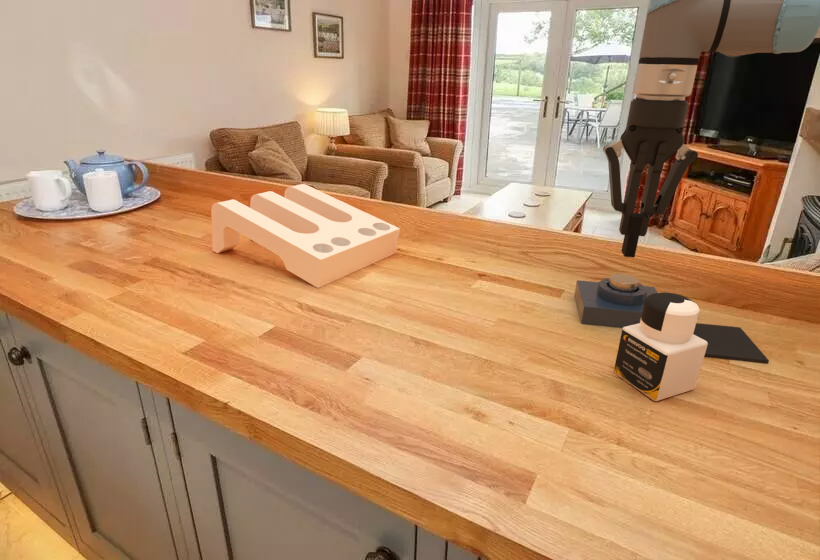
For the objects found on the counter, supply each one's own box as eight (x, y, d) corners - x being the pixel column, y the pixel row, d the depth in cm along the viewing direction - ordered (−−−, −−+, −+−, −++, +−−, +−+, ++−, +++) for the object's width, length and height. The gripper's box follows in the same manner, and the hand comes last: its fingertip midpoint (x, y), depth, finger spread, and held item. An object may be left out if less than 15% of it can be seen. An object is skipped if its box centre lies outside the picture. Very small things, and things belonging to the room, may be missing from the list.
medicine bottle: (612, 372, 66) (628, 292, 62) (650, 361, 69) (669, 283, 64) (655, 403, 60) (677, 316, 56) (695, 389, 63) (720, 306, 58)
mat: (739, 330, 78) (740, 327, 78) (768, 364, 69) (769, 360, 69) (671, 323, 80) (672, 320, 79) (691, 355, 71) (692, 352, 70)
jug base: (650, 303, 87) (656, 277, 85) (667, 333, 77) (674, 304, 75) (574, 296, 89) (578, 270, 87) (581, 324, 79) (585, 296, 77)
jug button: (633, 284, 83) (635, 274, 82) (639, 295, 79) (641, 285, 78) (606, 282, 83) (608, 272, 83) (610, 292, 79) (612, 282, 79)
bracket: (320, 259, 88) (210, 199, 102) (315, 314, 94) (212, 250, 108) (400, 228, 106) (297, 180, 120) (391, 276, 112) (294, 225, 126)
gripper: (616, 97, 67) (588, 258, 77) (720, 100, 65) (678, 266, 74) (607, 95, 74) (582, 243, 83) (701, 98, 72) (664, 250, 81)
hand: (627, 254), depth 79 cm, fingers closed
